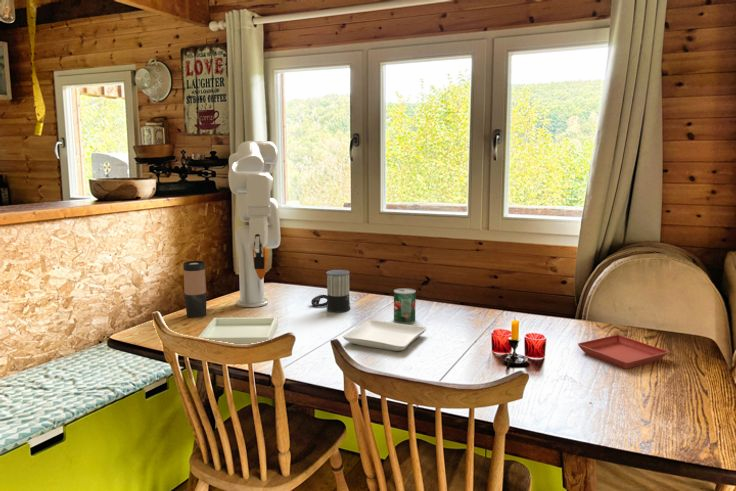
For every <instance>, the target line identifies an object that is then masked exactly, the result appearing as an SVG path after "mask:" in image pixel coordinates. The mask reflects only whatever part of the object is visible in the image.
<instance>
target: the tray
mask: <svg viewBox="0 0 736 491" xmlns="http://www.w3.org/2000/svg"><path fill="white" fill-rule="evenodd" d="M278 323H279V321H278V317H277V316H276V317H275V316H273V317H271V316H270V317H265V316H263V317H213V319H212V320H211V321H210V322H209V323H208V324H207V325H206V327H205V328H204V329H203V330H202V332H201V333H200V334H199V335H198V337H200V338H204V339H209V340H215V341H222V342H228V343H234V344H251V343H257V342H262V341H266V340H269V339H272V340H273V337H274V335H275V333H276V331H277V328H278V326H279V325H278ZM198 337H197V338H198Z"/></svg>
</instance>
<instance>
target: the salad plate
mask: <svg viewBox="0 0 736 491" xmlns="http://www.w3.org/2000/svg"><path fill="white" fill-rule="evenodd" d="M426 330H427V327H424V326H417V325H410V324H403V323H397V322H391V321H383V320H381V321H380V320H375V319H374V320H372V319H370V320H367V321H366V322H364V323H362V324H360V325H359V326H357V327H355V328H353V329H352V330H350V331H349V332H347V333H346V334H344V335H343V336H342V338H343V339H344V340H345V341H347V342H349V343H351V344H355V345H357V346H362V347H367V348H375V349H382V350H388V351H399V352H401V351H403V350H405V349H406V348H407V347H408V346H409V345H410V344H412V343H413V341H415V340H416V339H417V338H419V337H420V336H422V335H423V334H424V333H425V332H426Z"/></svg>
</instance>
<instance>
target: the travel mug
mask: <svg viewBox="0 0 736 491" xmlns="http://www.w3.org/2000/svg"><path fill="white" fill-rule="evenodd" d="M182 265H183V266H182V268H183V286H184V288H183V289H184V303H185V312H186V317H187V318H191V319H194V318H195V319H197V318H203V317H205V316H207V284H206V269H205V268H206V267H205V261H202V260H188V261H184V262H183V263H182Z"/></svg>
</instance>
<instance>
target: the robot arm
mask: <svg viewBox="0 0 736 491" xmlns="http://www.w3.org/2000/svg"><path fill="white" fill-rule="evenodd" d="M278 154H279V153H278V148H277V146H276V145H275V143H274V142H273V141H270V140H269V141H267V140H247V141H243V142H241V143H240V144H239V145H238V146H237V150H236V152H234V153H232V154H231V155H230V156H229V157H228V167H229V168H228V169H229V170H228V175H227V176H228V186H229V189H230V192H232V194H234V195H236V198H237V199H236V202H237V215H238V218H239V220H240V221H242V222H246V223H249V224H248V225H242V226H239V227H238V228H236V231H235V235H234V236H235V241H236V243H235V244H236V248H237V257H238V276H239V277H238V278H239V280H238V281H239V298H238V299H237V300H236V302H235V303H236V306H238V307H241V308H257V307H262V306H265V305H268V304H269V299H268V298H267V297H265V282H264V280H265V279H264V278H265V276H264V277H263V279H262V280H261V279H259V277H258V275H257V273H256V271H255V269H264V268H265V266H264V257H263V248H264V247H265V246H266V247H267V248H268V250H269V249H277V248H278V247H279V246H280V245H281V242H282V241H281V239H282V238H281V223H280V222H281V221H280V220H281V219H280V209H279V203H278V201H277V199H276V198H274V197H271V191H272V189H273V188H274V178H273V176H272V175H271V174H272V173H273V172H274V171H275V169H276V165H277V162H278V158H279V157H278V156H279V155H278ZM261 243H262V244H261ZM259 246H262V247H259ZM253 247H254V262H253ZM260 249H261V250H260Z"/></svg>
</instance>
